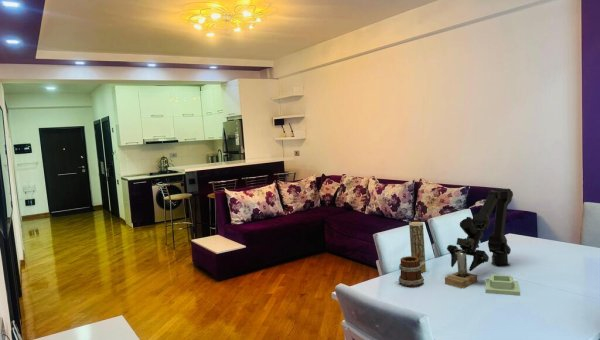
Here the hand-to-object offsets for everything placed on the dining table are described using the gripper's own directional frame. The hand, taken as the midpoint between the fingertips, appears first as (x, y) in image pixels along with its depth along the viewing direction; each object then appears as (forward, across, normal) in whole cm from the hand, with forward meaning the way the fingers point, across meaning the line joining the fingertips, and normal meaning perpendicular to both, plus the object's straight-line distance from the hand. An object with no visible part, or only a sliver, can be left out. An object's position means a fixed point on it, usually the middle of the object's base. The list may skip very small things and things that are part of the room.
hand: (460, 268), depth 190 cm
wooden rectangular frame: (+5, 0, +5) cm, 7 cm away
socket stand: (+1, +17, +8) cm, 19 cm away
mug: (+15, -17, -5) cm, 23 cm away
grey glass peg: (+4, 0, +6) cm, 7 cm away
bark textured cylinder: (+4, -24, +5) cm, 25 cm away
